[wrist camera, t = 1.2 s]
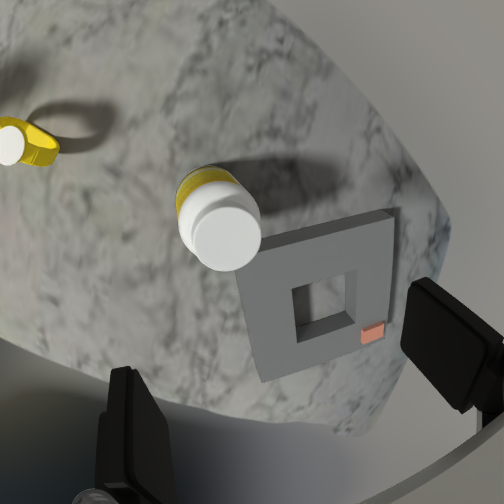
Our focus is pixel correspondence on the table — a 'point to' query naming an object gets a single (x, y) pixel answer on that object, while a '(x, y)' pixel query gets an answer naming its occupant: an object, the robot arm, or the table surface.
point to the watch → (25, 143)
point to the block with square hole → (311, 270)
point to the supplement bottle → (218, 218)
